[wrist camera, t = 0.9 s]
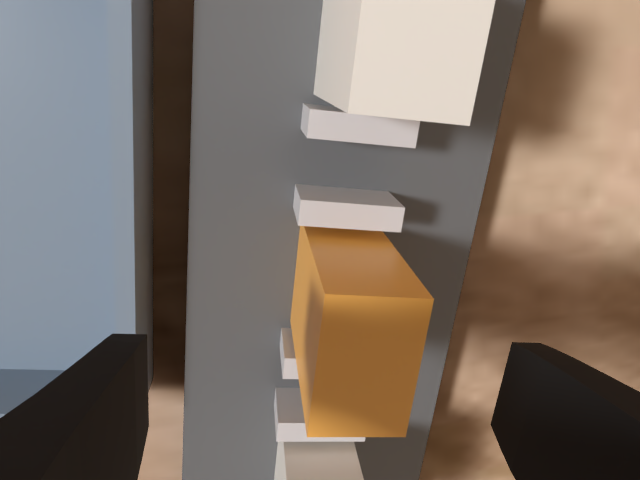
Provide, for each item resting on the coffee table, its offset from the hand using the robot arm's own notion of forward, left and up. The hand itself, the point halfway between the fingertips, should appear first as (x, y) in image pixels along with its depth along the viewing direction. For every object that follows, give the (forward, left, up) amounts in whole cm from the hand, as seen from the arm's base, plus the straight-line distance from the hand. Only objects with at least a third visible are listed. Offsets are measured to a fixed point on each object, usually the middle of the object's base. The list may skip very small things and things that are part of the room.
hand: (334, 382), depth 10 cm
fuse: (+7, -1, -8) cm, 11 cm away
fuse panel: (-1, -1, -10) cm, 10 cm away
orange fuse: (-1, -1, -8) cm, 8 cm away
